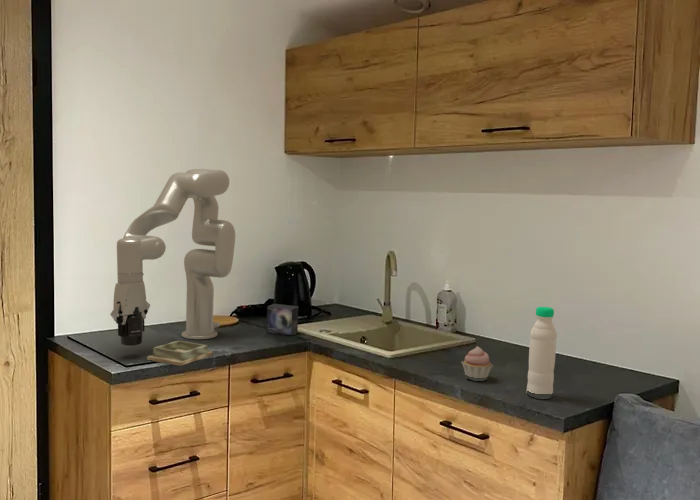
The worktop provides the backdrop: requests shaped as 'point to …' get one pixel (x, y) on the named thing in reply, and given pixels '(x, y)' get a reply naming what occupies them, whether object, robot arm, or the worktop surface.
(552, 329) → the white milk bottle
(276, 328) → the small box
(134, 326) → the supplement bottle
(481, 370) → the cupcake
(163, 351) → the board
